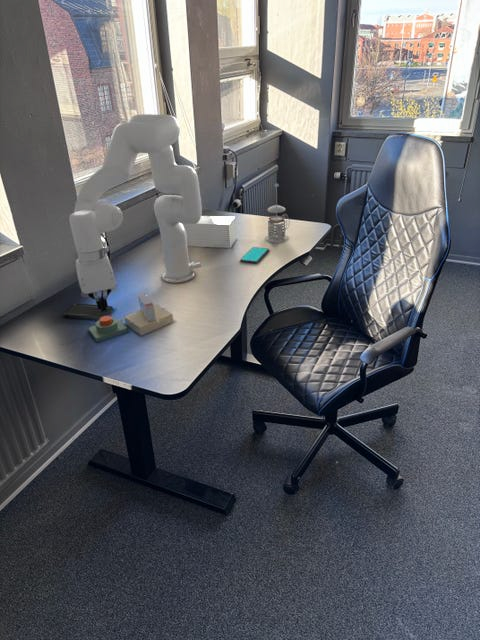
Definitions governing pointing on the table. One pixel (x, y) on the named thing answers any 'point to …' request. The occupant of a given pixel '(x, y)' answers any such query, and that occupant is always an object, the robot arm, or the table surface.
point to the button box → (107, 330)
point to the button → (105, 320)
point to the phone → (87, 311)
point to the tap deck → (141, 323)
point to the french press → (276, 219)
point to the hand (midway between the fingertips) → (103, 309)
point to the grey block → (147, 307)
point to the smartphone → (254, 255)
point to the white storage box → (211, 232)
